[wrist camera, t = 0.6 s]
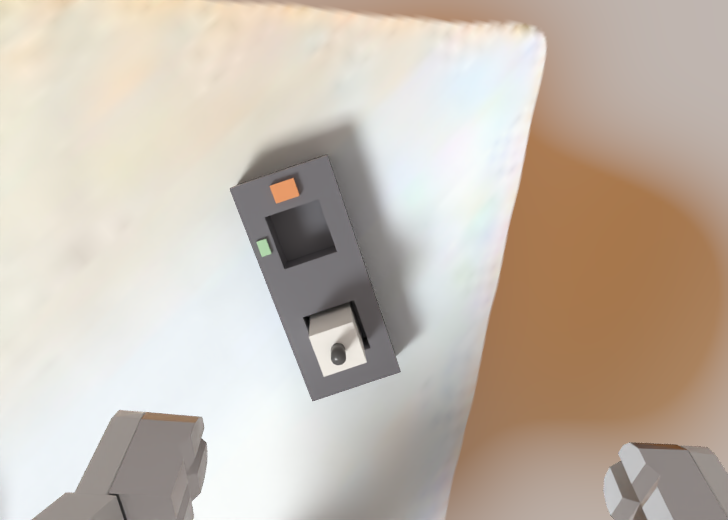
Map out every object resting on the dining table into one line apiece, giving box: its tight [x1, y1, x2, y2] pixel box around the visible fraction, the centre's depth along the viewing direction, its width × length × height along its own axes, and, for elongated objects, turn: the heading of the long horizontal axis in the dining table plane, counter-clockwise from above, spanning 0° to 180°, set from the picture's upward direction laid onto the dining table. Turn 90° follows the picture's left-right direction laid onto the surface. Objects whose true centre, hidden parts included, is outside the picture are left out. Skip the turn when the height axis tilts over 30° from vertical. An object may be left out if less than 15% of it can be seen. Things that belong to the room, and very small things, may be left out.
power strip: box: [230, 155, 401, 401], centre depth 55 cm, size 24×10×5 cm, turn 18°
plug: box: [309, 302, 367, 377], centre depth 53 cm, size 4×4×10 cm
